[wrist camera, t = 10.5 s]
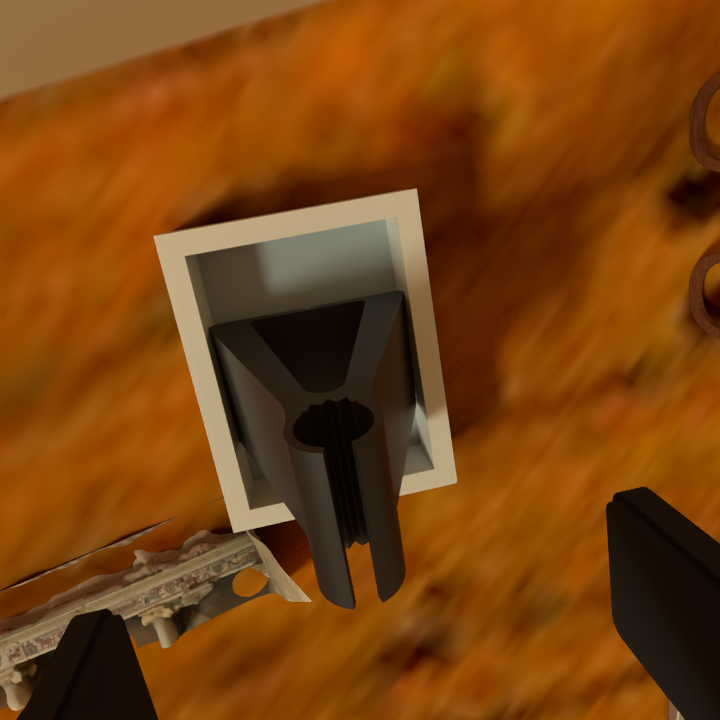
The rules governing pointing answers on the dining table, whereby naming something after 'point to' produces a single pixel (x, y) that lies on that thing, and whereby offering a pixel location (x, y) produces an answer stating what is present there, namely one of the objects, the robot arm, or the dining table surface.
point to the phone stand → (329, 424)
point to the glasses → (709, 163)
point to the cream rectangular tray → (303, 290)
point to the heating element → (140, 601)
